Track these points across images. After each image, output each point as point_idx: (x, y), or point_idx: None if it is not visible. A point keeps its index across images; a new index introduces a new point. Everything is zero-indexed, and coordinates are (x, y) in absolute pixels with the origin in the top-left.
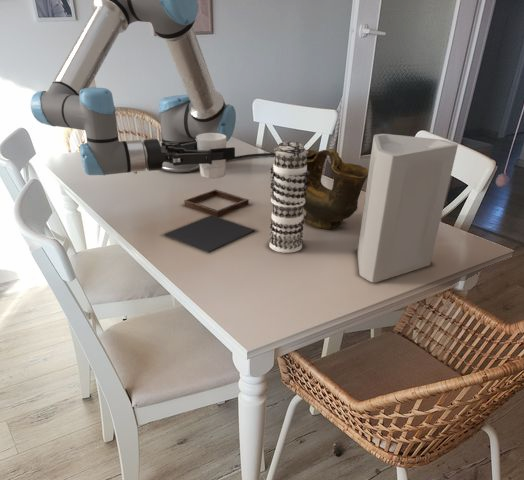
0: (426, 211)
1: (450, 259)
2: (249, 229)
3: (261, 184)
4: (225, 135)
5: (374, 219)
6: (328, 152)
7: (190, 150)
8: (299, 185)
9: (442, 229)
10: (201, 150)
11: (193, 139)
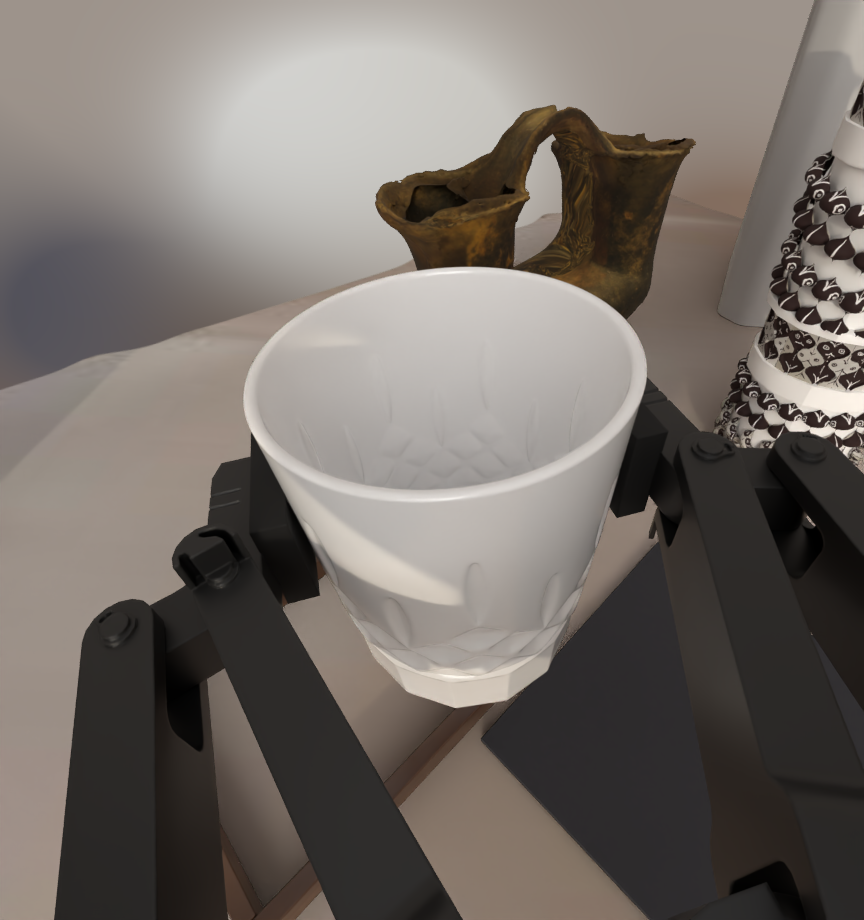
0: None
1: (718, 230)
2: (656, 560)
3: (115, 493)
4: (402, 273)
5: None
6: (576, 113)
7: (775, 675)
8: None
9: (559, 225)
10: (707, 524)
11: (105, 630)
